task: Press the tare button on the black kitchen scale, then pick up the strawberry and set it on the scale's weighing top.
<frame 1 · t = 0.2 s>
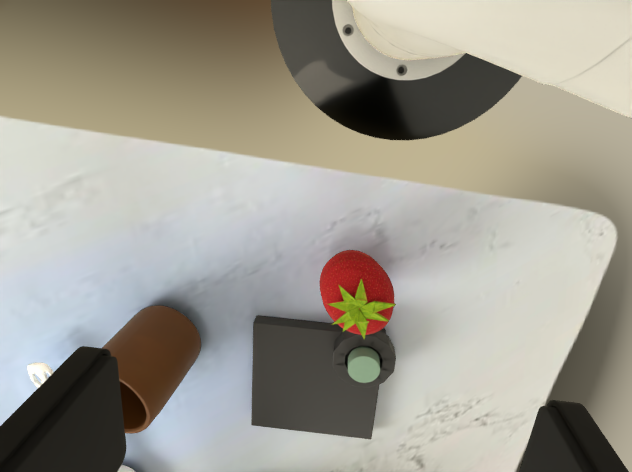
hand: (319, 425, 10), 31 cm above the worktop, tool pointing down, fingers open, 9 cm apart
mug: (165, 344, 47), on the worktop
tare button: (363, 364, 42), point 3 cm above the worktop, slide at 0.1 cm
strawberry: (356, 265, 42), on the worktop
spatula: (109, 443, 53), on the worktop, touching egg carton
scale: (316, 374, 47), on the worktop
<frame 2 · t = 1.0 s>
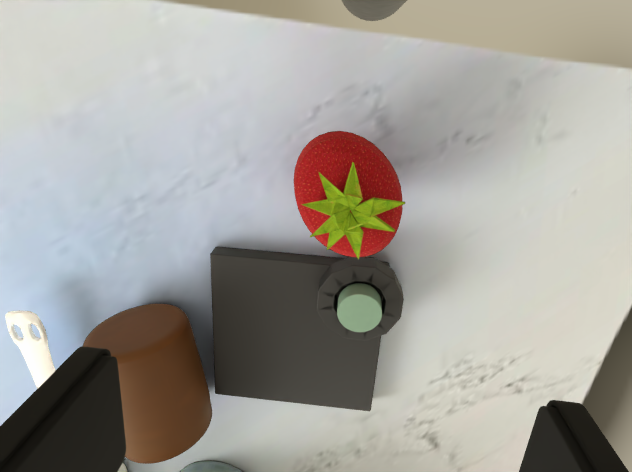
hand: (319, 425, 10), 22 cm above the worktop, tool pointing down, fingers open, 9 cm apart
mug: (109, 323, 33), point 3 cm above the worktop
tare button: (359, 307, 30), point 3 cm above the worktop, slide at 0.1 cm
strawberry: (349, 171, 31), on the worktop
spatula: (90, 421, 42), on the worktop, touching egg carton
scale: (297, 327, 36), on the worktop
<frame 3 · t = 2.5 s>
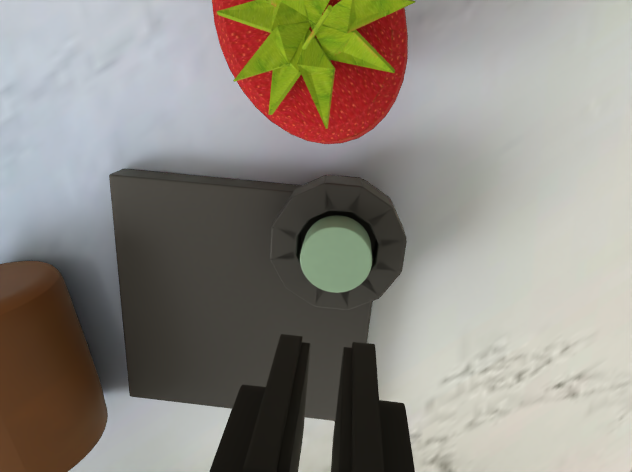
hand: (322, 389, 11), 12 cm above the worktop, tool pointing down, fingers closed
tare button: (336, 253, 19), point 3 cm above the worktop, slide at 0.1 cm
strawberry: (323, 40, 20), on the worktop
scale: (248, 297, 24), on the worktop
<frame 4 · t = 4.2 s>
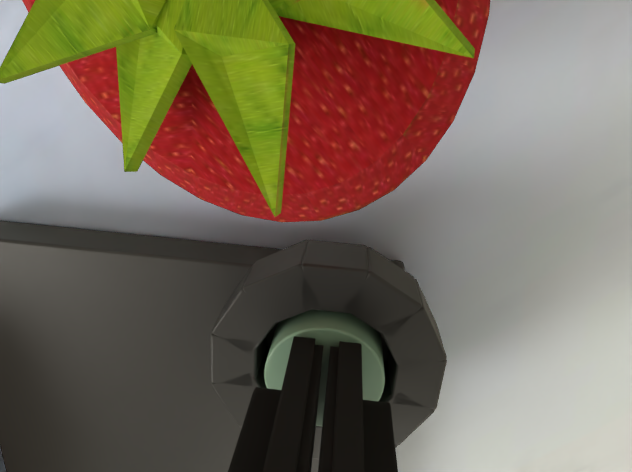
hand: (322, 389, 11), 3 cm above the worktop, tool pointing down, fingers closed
tare button: (325, 361, 12), point 3 cm above the worktop, slide at -0.8 cm, touching gripper
strawberry: (300, 8, 11), on the worktop
scale: (194, 407, 16), on the worktop
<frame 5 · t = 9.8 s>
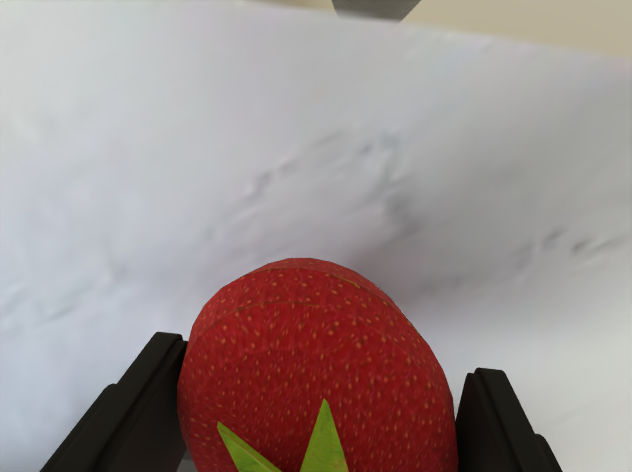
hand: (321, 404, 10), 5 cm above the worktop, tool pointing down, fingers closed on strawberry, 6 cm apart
strawberry: (332, 297, 15), on the worktop, touching gripper
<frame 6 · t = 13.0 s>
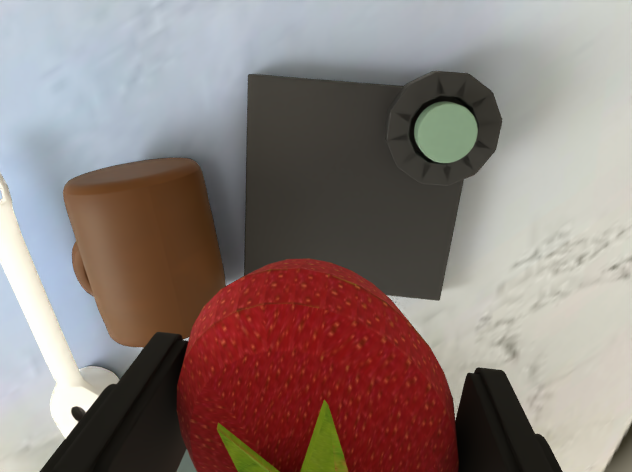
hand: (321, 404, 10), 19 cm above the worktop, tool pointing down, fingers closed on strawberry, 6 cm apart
mug: (106, 166, 26), point 3 cm above the worktop
tare button: (444, 132, 23), point 3 cm above the worktop, slide at 0.1 cm
strawberry: (332, 298, 15), point 14 cm above the worktop, touching gripper
spatula: (80, 332, 34), on the worktop, touching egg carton
scale: (351, 190, 28), on the worktop
when the fingers open (6 cm above the worktop, at t = 16.7 s): strawberry stays where it is, resting on scale.
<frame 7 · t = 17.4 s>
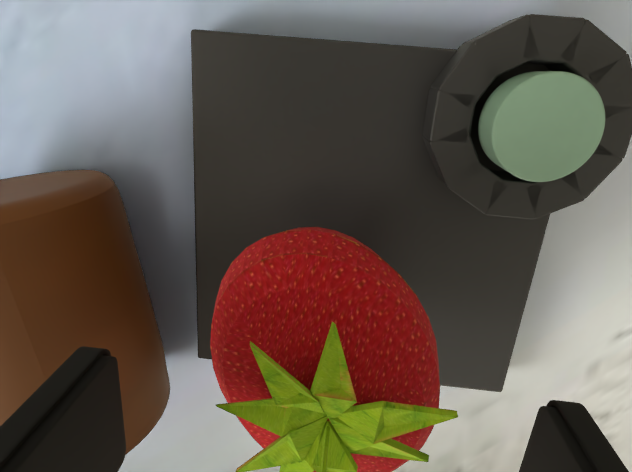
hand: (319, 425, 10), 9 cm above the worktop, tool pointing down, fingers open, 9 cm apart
tare button: (537, 126, 13), point 3 cm above the worktop, slide at 0.1 cm
strawberry: (334, 271, 17), point 1 cm above the worktop, touching scale
scale: (363, 220, 18), on the worktop
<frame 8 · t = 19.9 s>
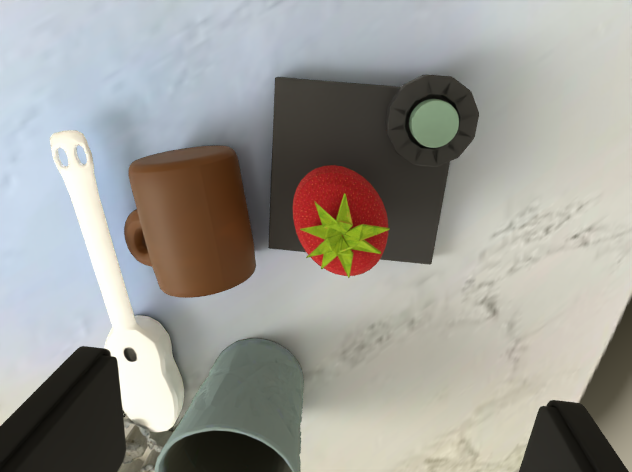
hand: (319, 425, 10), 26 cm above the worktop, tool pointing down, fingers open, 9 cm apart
mug: (159, 152, 32), point 3 cm above the worktop, touching spatula
tare button: (433, 123, 29), point 3 cm above the worktop, slide at 0.1 cm
strawberry: (342, 198, 34), point 1 cm above the worktop, touching scale
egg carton: (130, 434, 46), on the worktop, touching spatula
spatula: (132, 285, 40), on the worktop, touching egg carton, mug
scale: (357, 172, 34), on the worktop
green plant pot: (261, 373, 42), on the worktop
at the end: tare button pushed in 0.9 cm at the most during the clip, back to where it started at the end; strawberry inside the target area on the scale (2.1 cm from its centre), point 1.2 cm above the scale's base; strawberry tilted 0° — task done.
